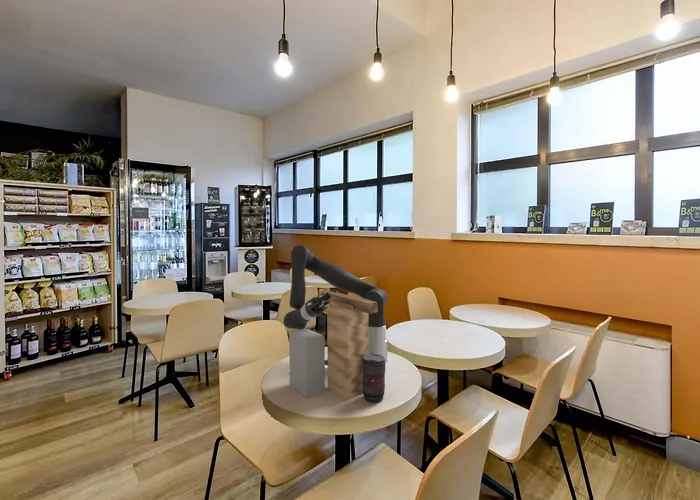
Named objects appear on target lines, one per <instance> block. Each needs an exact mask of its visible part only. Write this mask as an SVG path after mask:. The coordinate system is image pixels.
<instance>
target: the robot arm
mask: <svg viewBox="0 0 700 500" xmlns="http://www.w3.org/2000/svg"><path fill="white" fill-rule="evenodd" d="M290 257H291V258H290V259H291V286H290V295H289V296H290V297H289V307H290V308H292V309H294V310H292V311H291V310H290V311H289V312H287V313H285V316H284V318H283V325H284V327H286V328H288V329H290V330H291V329H293V330H303V329H306V326H307V324H308V322H310V321H312V320H314V319H316V318H318V316H321V315H322V314H323V313H324V312H325V311H326V308H327V305H331V303H329V302H325V301H326V300H328V299H329V298H330V297H331V296H330V293H329V292H327V293H326V294H324V295H322V296H320V297H319V296H314V297H311V298H310V299H309V300H307V302H306V293H307V292H306V291H307V289H306V279H305V277H306V276H305V273H306V271H305V270H308V271H309V272H311V273H314V274H316V275H317V276H318V277H320V279H322V280H323V281H324V282H327V283H328V284H329V285H332V286H333V287H335V288H336V289H338V290H341V291H344V292H348V293H350V294H355V295H357V296H358V297H359V298H362V299H367V300H371V301H375V302H378V312H376V313H371V314H369V354H378V355H382V356H384V357H385V363H386V362H388V340H387V337H386V336H387V335H386V334H387V330H386V329H387V326H386V325H387V324H386V323H387V322H386V321H387V319H386V318H385V314H384V313H385V311H384V307H385V306H386V305H387V303H388V301H389V300H388V299H389V298H388V297H389V296H388V295H387V293H386V291H385V290H384V289H382V288H379V287H378V286H375V285H373V284H371V283H368V282H367V281H364V280H362V279H361V278H360V277H358V276H356V275H355V274H352V272H349V271H348V270H346V269H344V268H343V267H340V266H339V265H337V264H334V263H331V262H327V261H324V260H322V259H320V258H319V257H318V256H316V255H315V254H314V253H312V251H310V249H309V248H308V247H307V246H306V245H303V244H298V245H294V247H293V248H292V250H291V251H290ZM338 290H336V291H334V292H336V293H339V291H338Z"/></svg>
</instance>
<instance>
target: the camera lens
mask: <svg viewBox="0 0 700 500" xmlns="http://www.w3.org/2000/svg"><path fill="white" fill-rule="evenodd" d="M385 376H386V362H385V357H384V356H382V355H378V354H367V355H365V356H364V357H363V377H362V381H363V394H362V395H363V396H364V400H365V401H366V402H368V403H372V404H373V403H374V404H376V403H380V402H382V401H383V400H384V395H385V389H386V380H385Z"/></svg>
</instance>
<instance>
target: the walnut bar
mask: <svg viewBox="0 0 700 500" xmlns="http://www.w3.org/2000/svg"><path fill="white" fill-rule="evenodd" d="M327 292H329V293H330V296H331V297H330V298H329V299H328V300H326V301H325V302H329V303H331V300H334V301H338V302H342V303H346V304H350V305H353V309H355V310H358V311H362V312H365V313H369V314H371V313H376V312H378V302H375V301H371V300H367V299H364V298H362V297H359V296H358V297H357V296H353V295H350V294H345V293H340V292H338V293H336V292H335V291H332V290H331V288H330V287H329V288H328V287H327V288H320V289H319V290H318V297H320V296H322V295H324V294H326V293H327Z"/></svg>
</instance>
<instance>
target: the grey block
mask: <svg viewBox="0 0 700 500" xmlns="http://www.w3.org/2000/svg"><path fill="white" fill-rule="evenodd" d="M288 336H289V337H288V338H289V339H288V342H289V345H288V346H289V352H288V353H289V387H291V388H292V389H294V390H295V391H296V392H298V393H299V394H301V395H303V397H305V398H309V397H312V396H315V395H317V394H320V393H323V392H325V391H326V368H325V360H326V357H325V354H326V352H325V350H326V347H325V345H326V344H325V343H326V342H325V335H323V334H321V333H318V332H316V331H314V330H312V329H310V328H304V329H302V330H299V329H297V330H295V331H294V330H293V331H291V332H289V334H288Z"/></svg>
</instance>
